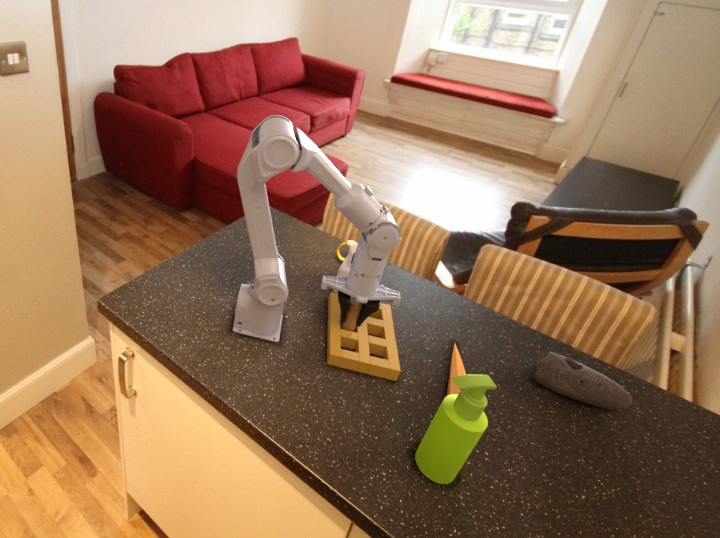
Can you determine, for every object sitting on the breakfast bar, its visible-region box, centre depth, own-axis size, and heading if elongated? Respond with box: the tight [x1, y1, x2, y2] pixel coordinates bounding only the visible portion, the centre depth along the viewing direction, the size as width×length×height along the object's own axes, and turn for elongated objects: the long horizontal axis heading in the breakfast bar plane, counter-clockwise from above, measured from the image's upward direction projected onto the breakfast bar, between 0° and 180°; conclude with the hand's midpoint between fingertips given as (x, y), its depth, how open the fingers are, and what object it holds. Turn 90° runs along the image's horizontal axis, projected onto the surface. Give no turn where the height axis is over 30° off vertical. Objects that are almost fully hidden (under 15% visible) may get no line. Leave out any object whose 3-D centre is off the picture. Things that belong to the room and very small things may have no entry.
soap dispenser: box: [414, 373, 498, 485], centre depth 65 cm, size 6×7×20 cm
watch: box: [335, 239, 358, 262], centre depth 113 cm, size 6×3×6 cm, turn 59°
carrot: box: [446, 342, 467, 396], centre depth 84 cm, size 20×4×4 cm, turn 155°
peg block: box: [326, 291, 401, 382], centre depth 91 cm, size 13×18×3 cm
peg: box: [340, 297, 363, 332], centre depth 90 cm, size 3×3×8 cm
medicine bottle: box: [332, 242, 358, 297], centre depth 102 cm, size 7×7×12 cm
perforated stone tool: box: [534, 351, 634, 411], centre depth 82 cm, size 15×5×7 cm, turn 59°
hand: (349, 321), depth 91 cm, fingers closed on peg, 2 cm apart
